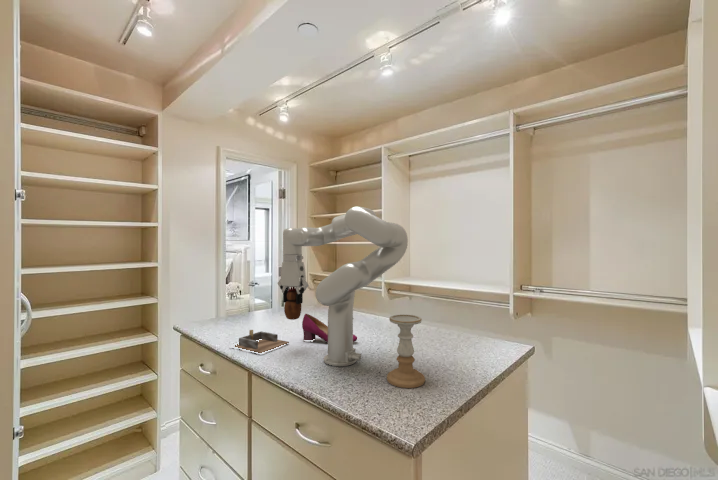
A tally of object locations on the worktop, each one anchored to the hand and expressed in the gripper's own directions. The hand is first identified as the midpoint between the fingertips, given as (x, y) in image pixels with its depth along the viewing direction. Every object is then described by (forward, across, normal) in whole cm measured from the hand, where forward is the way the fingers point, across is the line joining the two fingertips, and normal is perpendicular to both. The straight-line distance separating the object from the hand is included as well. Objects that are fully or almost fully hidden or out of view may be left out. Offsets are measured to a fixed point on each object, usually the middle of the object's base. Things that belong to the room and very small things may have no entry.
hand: (292, 302), depth 132 cm
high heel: (+21, -4, -19) cm, 28 cm away
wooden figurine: (+7, 0, 0) cm, 7 cm away
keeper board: (+20, +18, +1) cm, 27 cm away
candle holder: (+21, -50, +2) cm, 54 cm away
